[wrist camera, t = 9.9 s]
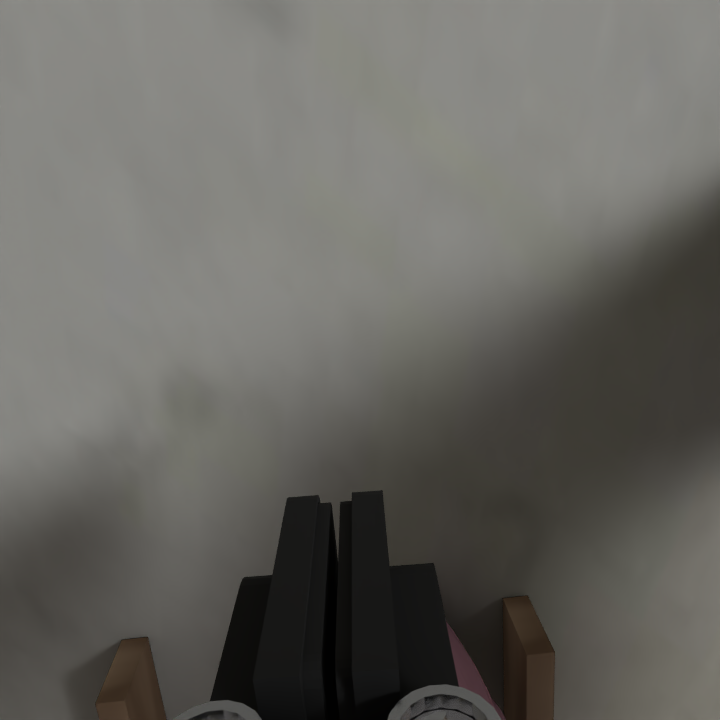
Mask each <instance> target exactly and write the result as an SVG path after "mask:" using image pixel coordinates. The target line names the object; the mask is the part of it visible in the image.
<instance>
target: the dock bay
mask: <svg viewBox="0 0 720 720" xmlns="http://www.w3.org/2000/svg"><path fill="white" fill-rule="evenodd" d="M503 665H504V717H505V719H506V720H553V717H554V669H555V651H554V649H553V647H552V645H551V643H550V641H549V639H548V637H547V635H546V633H545V631H544V629H543V627H542V624H541V622H540V620H539V618H538V616H537V614H536V612H535V610H534V608H533V606H532V604H531V602H530V600H529V597H528V596H519V597H510V598H503ZM95 705H96V708H97V712H98V716H99V720H166V715H165V711H164V707H163V702H162V698H161V693H160V689H159V684H158V680H157V676H156V671H155V667H154V662H153V658H152V654H151V649H150V645H149V640H148V637H144V638H135V639H125V640H122V641H121V643H120V646H119V648H118V650H117V653H116V655H115V658H114V660H113V662H112V665H111V667H110V670H109V672H108V674H107V677H106V679H105V682H104V684H103V687H102V689H101V691H100V694H99V696H98V699H97V701H96V703H95Z"/></svg>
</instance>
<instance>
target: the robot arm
mask: <svg viewBox="0 0 720 720" xmlns="http://www.w3.org/2000/svg"><path fill="white" fill-rule="evenodd" d="M173 720H501V718H500V716H499V715H498V713H497V712H496V710H495V709H494V707H493V706H492V705H490V704H489V703H488V702H487V701H486V700H485V699H483V698H482V697H481V696H480V695H478V694H476V693H474V692H472V691H469V690H467V689H465V688H462V687H459V684H458V679H457V674H456V669H455V664H454V659H453V654H452V649H451V644H450V639H449V634H448V629H447V624H446V620H445V615H444V610H443V605H442V600H441V595H440V590H439V585H438V580H437V575H436V570H435V566H434V564H433V563H428V564H415V565H401V566H389V558H388V547H387V536H386V525H385V513H384V502H383V491H382V490H381V491H367V492H354V493H352V501H345V502H340V527H339V557H338V558H337V549H336V540H335V530H334V521H333V512H332V505H331V503H320V498H319V495H315V496H302V497H289V498H287V501H286V506H285V512H284V517H283V522H282V528H281V533H280V538H279V543H278V549H277V554H276V559H275V565H274V570H273V575H267V576H254V577H244V578H243V579H242V582H241V584H240V588H239V591H238V595H237V599H236V603H235V607H234V611H233V614H232V618H231V622H230V626H229V630H228V634H227V637H226V641H225V645H224V649H223V653H222V657H221V661H220V664H219V668H218V672H217V676H216V680H215V684H214V687H213V691H212V695H211V699H210V702H207V703H203V704H200V705H197V706H194V707H192V708H190V709H188V710H187V711H185V712H183V713H182V714H180V715H178V716H177V717H175V718H174V719H173Z"/></svg>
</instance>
